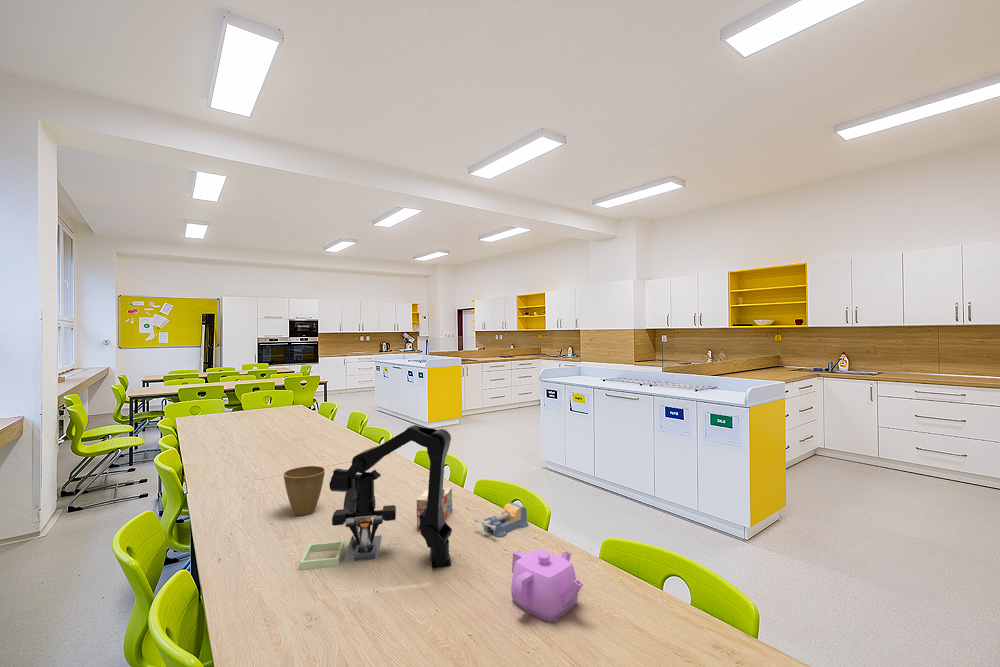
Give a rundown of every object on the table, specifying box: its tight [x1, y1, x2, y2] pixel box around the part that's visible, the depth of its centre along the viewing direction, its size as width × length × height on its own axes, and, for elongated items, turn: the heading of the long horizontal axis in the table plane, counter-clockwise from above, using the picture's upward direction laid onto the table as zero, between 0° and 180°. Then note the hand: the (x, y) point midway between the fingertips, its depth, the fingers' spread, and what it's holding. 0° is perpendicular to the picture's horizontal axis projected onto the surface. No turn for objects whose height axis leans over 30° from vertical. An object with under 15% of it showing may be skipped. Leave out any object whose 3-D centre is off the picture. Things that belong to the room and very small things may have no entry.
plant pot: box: [283, 465, 326, 516], centre depth 175 cm, size 15×15×16 cm
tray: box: [299, 540, 345, 571], centre depth 136 cm, size 12×11×3 cm
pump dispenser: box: [342, 488, 363, 520], centre depth 169 cm, size 10×10×15 cm
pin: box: [358, 517, 373, 553], centre depth 138 cm, size 4×4×10 cm
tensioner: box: [343, 531, 383, 563], centre depth 142 cm, size 16×10×4 cm, turn 11°
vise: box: [473, 502, 529, 538], centre depth 157 cm, size 18×10×7 cm, turn 133°
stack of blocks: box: [416, 486, 453, 532], centre depth 164 cm, size 21×6×12 cm, turn 169°
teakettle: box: [510, 548, 584, 623], centre depth 114 cm, size 17×17×12 cm
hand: (365, 542), depth 139 cm, fingers open, 4 cm apart
